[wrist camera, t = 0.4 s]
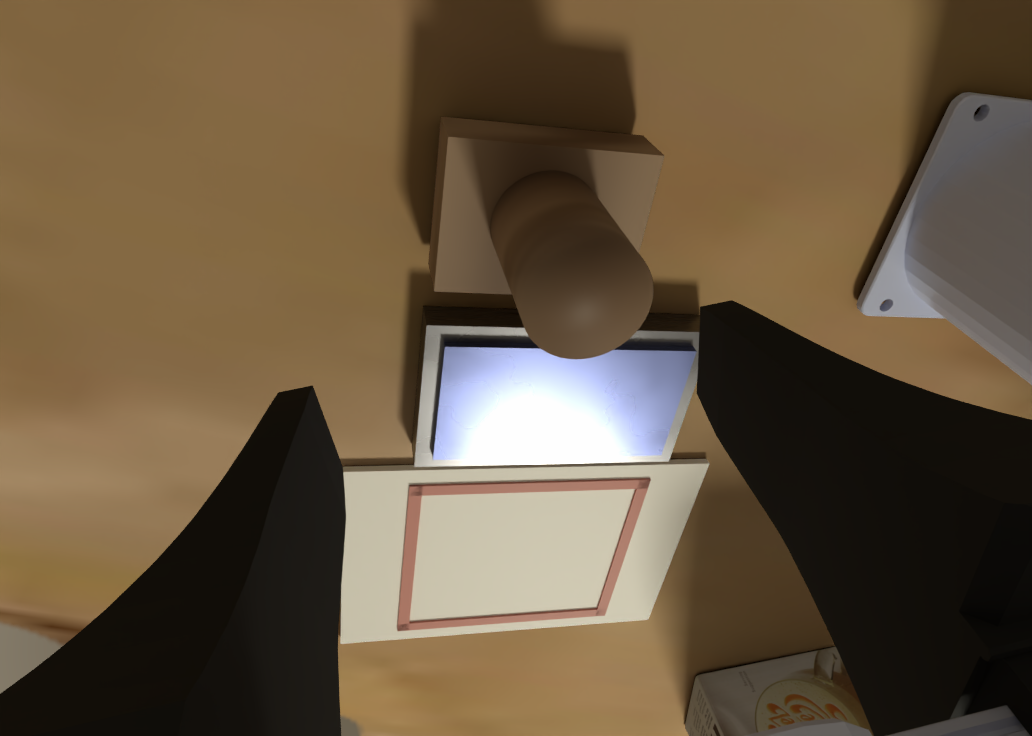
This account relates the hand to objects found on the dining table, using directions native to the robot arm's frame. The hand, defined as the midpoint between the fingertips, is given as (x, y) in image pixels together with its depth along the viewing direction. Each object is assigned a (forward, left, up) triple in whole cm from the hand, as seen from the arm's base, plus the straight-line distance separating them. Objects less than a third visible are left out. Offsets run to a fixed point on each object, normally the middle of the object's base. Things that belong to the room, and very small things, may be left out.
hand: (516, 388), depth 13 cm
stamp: (-2, 0, -10) cm, 11 cm away
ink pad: (-4, +7, -10) cm, 13 cm away
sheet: (-4, +16, -10) cm, 20 cm away
